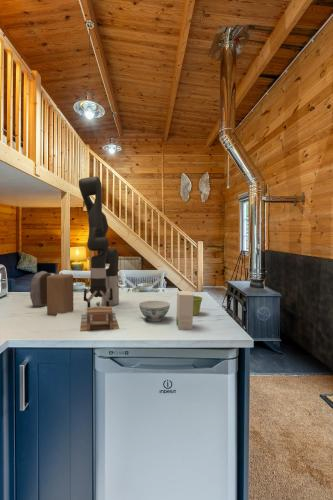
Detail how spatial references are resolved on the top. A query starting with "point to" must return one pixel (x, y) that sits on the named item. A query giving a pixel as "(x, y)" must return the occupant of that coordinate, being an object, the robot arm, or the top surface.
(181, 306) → the skincare box
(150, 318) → the chinaware
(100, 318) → the cord block
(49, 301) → the block
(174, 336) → the top surface
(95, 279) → the robot arm
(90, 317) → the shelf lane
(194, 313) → the plant pot
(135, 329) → the top surface
